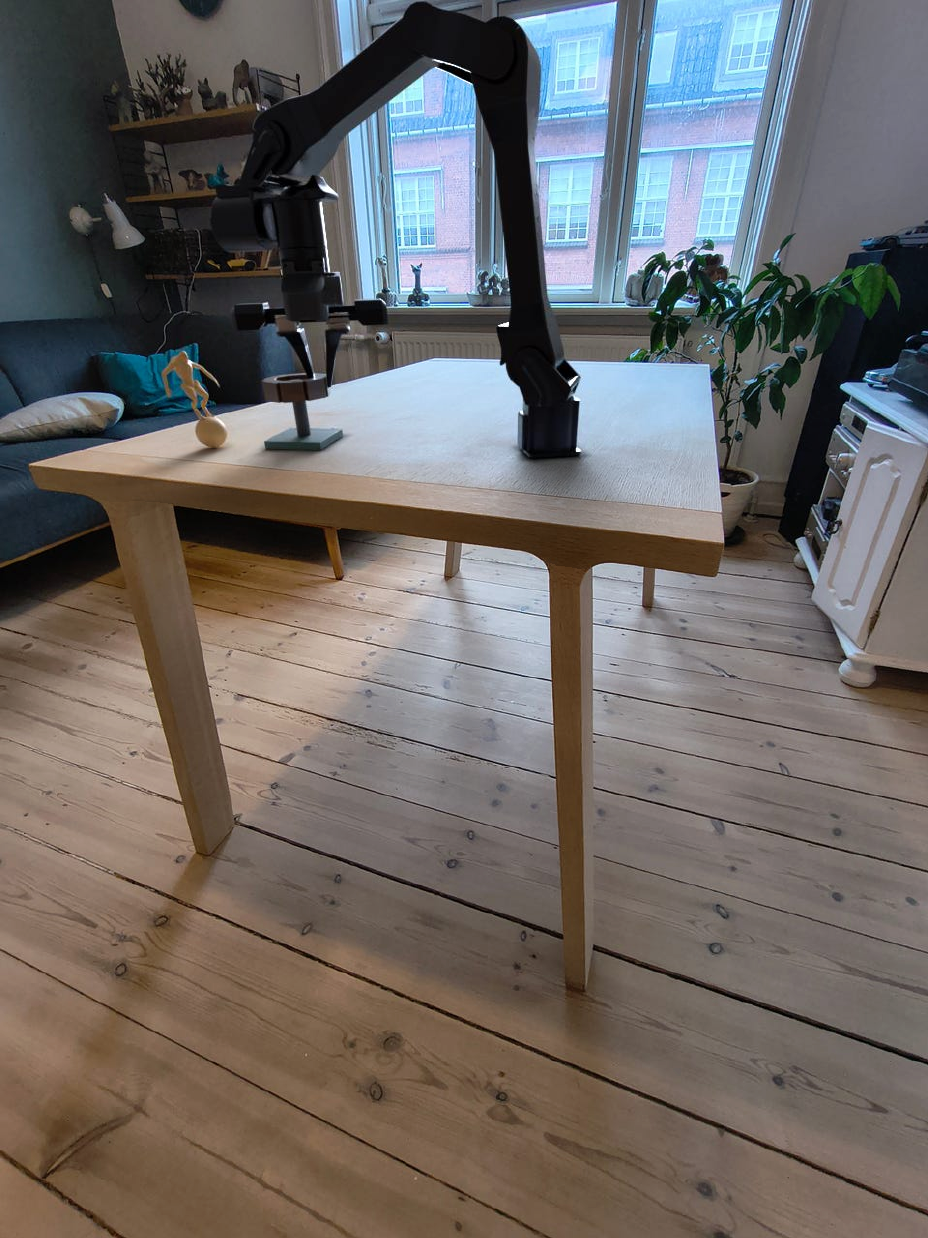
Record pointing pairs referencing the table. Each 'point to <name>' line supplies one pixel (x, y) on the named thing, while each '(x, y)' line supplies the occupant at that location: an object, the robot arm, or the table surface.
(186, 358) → the figurine
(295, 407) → the peg stand
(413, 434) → the table surface
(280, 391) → the ring
